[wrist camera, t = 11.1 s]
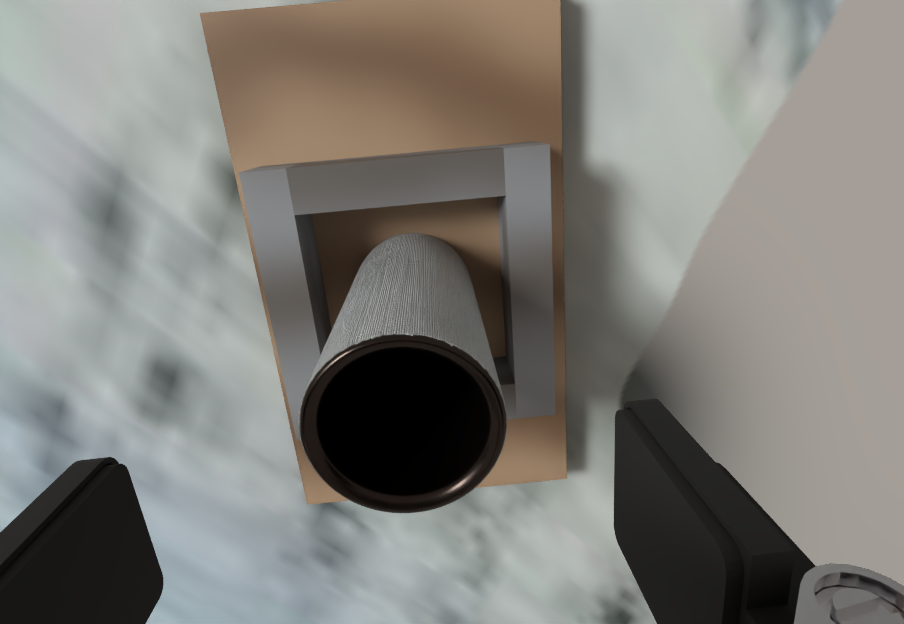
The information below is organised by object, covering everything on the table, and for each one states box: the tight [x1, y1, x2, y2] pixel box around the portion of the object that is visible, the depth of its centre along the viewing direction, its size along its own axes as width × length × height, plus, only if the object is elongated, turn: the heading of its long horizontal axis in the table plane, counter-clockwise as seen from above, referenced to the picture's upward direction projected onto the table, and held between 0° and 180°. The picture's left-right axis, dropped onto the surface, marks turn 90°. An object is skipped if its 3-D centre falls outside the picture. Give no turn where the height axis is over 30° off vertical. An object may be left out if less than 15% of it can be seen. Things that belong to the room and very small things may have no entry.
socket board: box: [200, 0, 567, 504], centre depth 21 cm, size 20×12×4 cm, turn 5°
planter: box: [299, 233, 507, 513], centre depth 16 cm, size 4×4×10 cm
